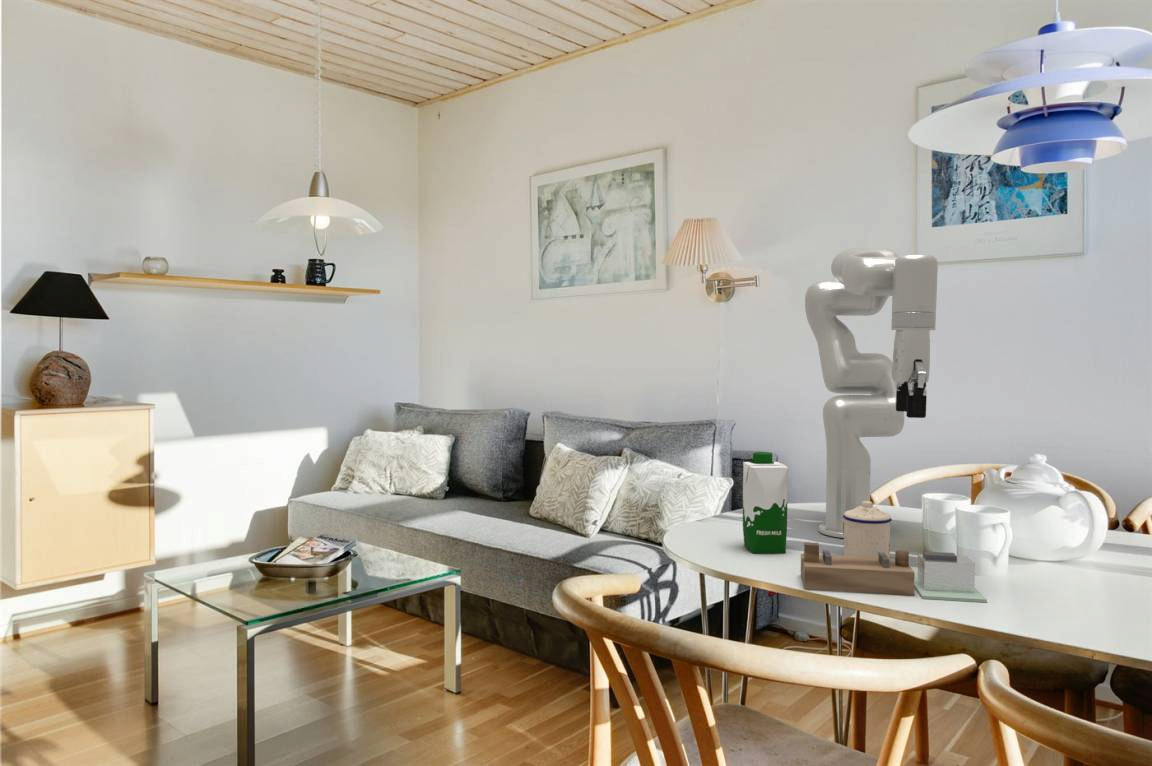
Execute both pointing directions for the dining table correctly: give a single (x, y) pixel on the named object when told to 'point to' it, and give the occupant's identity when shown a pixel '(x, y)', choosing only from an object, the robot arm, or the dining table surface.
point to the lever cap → (945, 572)
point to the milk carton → (765, 504)
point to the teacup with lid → (866, 531)
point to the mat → (949, 594)
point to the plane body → (856, 572)
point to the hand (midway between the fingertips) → (910, 414)
